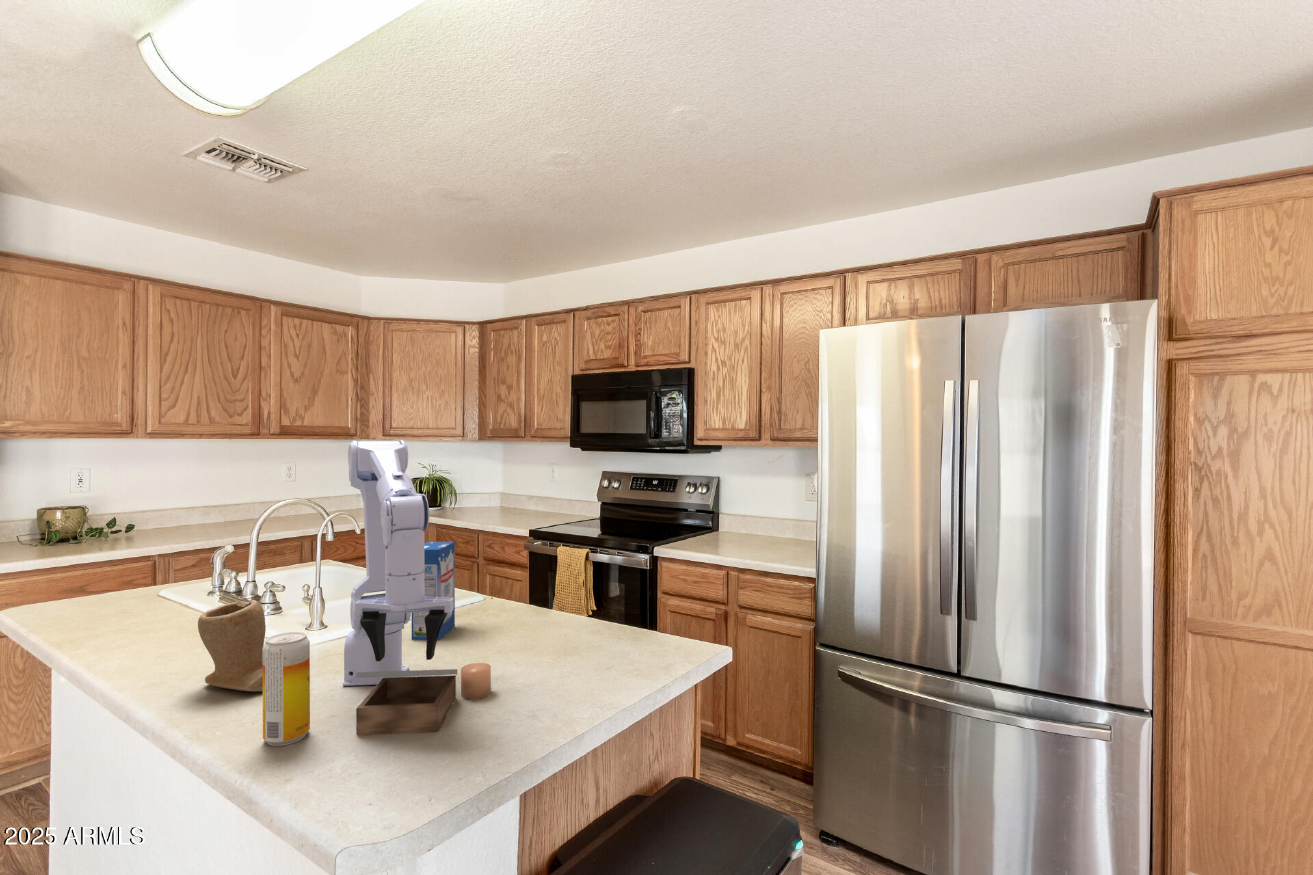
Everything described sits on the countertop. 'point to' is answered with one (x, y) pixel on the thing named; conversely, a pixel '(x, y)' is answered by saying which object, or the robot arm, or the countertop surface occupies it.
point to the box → (406, 705)
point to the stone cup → (235, 644)
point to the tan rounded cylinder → (475, 681)
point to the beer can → (286, 688)
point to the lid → (405, 673)
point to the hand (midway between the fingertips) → (405, 658)
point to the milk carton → (437, 585)
